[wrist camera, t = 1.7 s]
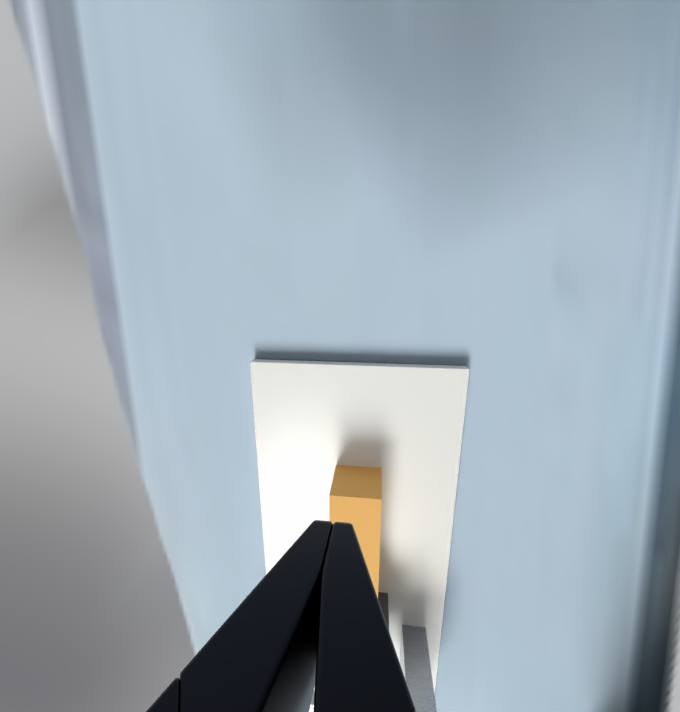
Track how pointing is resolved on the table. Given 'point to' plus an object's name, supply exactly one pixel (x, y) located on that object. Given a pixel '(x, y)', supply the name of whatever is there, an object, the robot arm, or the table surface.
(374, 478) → the plug
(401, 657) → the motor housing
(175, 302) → the table surface
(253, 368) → the mount plate
